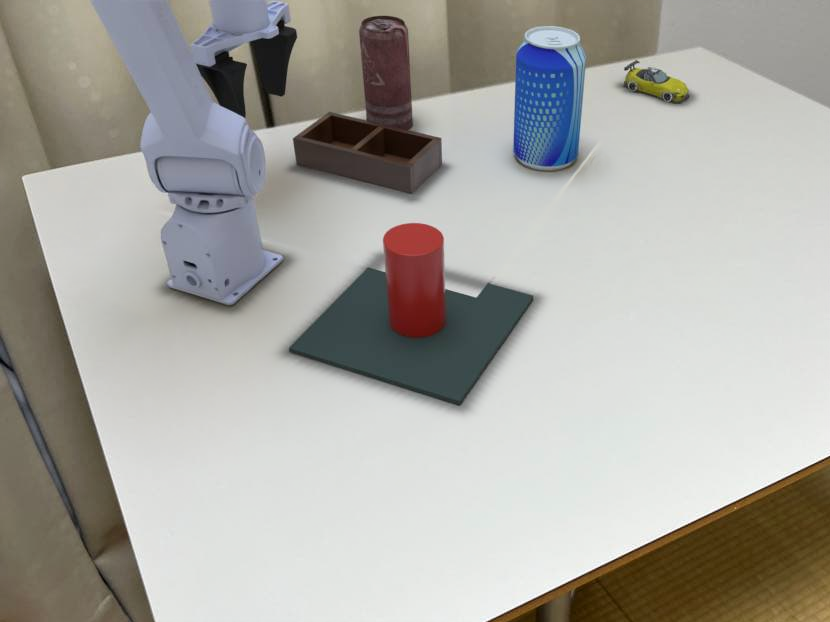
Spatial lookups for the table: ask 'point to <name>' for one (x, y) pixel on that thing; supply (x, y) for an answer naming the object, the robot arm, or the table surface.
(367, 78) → the can
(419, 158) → the holder
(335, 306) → the mat
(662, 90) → the toy car
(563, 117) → the beer can
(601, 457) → the table surface
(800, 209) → the table surface
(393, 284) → the can
